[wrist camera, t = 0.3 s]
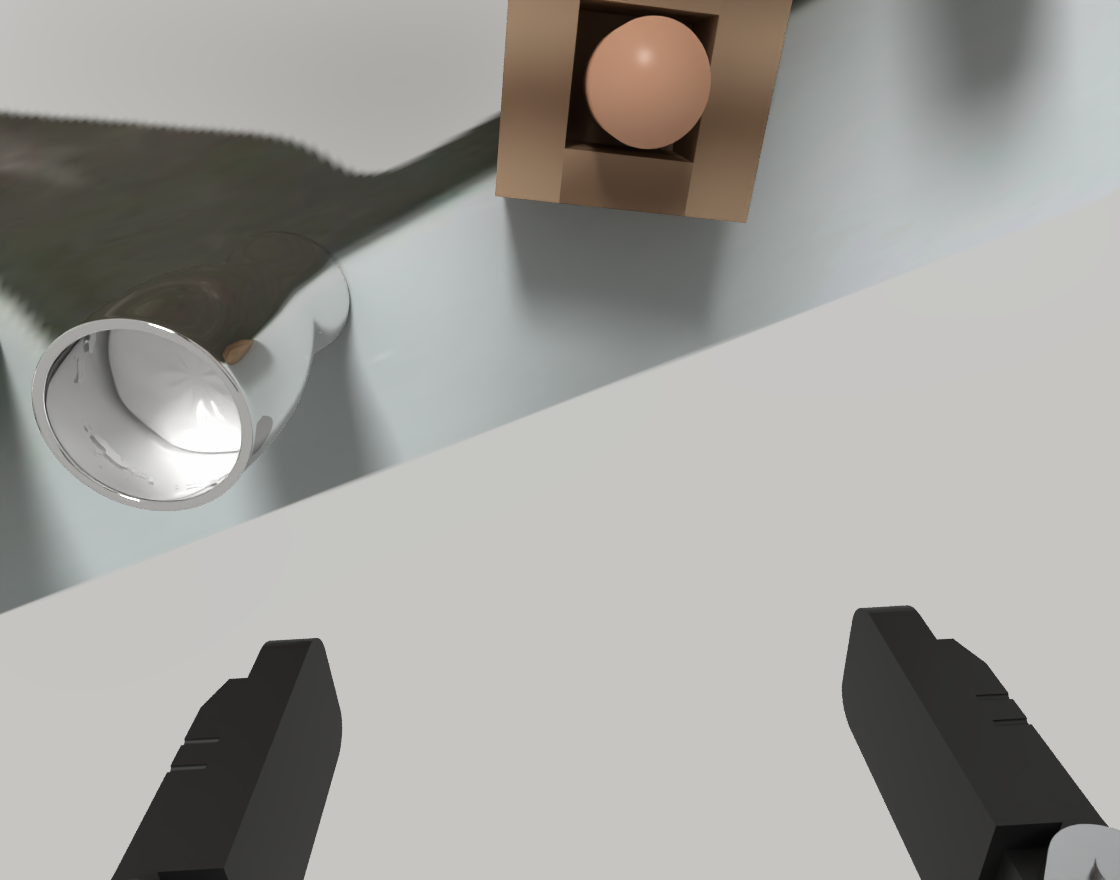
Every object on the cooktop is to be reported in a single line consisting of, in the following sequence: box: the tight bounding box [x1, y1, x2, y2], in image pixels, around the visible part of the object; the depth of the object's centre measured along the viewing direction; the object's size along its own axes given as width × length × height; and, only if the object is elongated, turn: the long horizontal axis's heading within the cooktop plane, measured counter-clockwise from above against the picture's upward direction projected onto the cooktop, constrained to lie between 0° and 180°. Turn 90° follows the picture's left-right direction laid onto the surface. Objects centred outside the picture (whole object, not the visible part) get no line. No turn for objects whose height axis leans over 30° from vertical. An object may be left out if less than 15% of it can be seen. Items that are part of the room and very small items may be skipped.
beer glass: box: [32, 232, 349, 511], centre depth 30 cm, size 7×7×15 cm
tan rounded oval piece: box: [583, 16, 711, 149], centre depth 27 cm, size 4×4×5 cm
